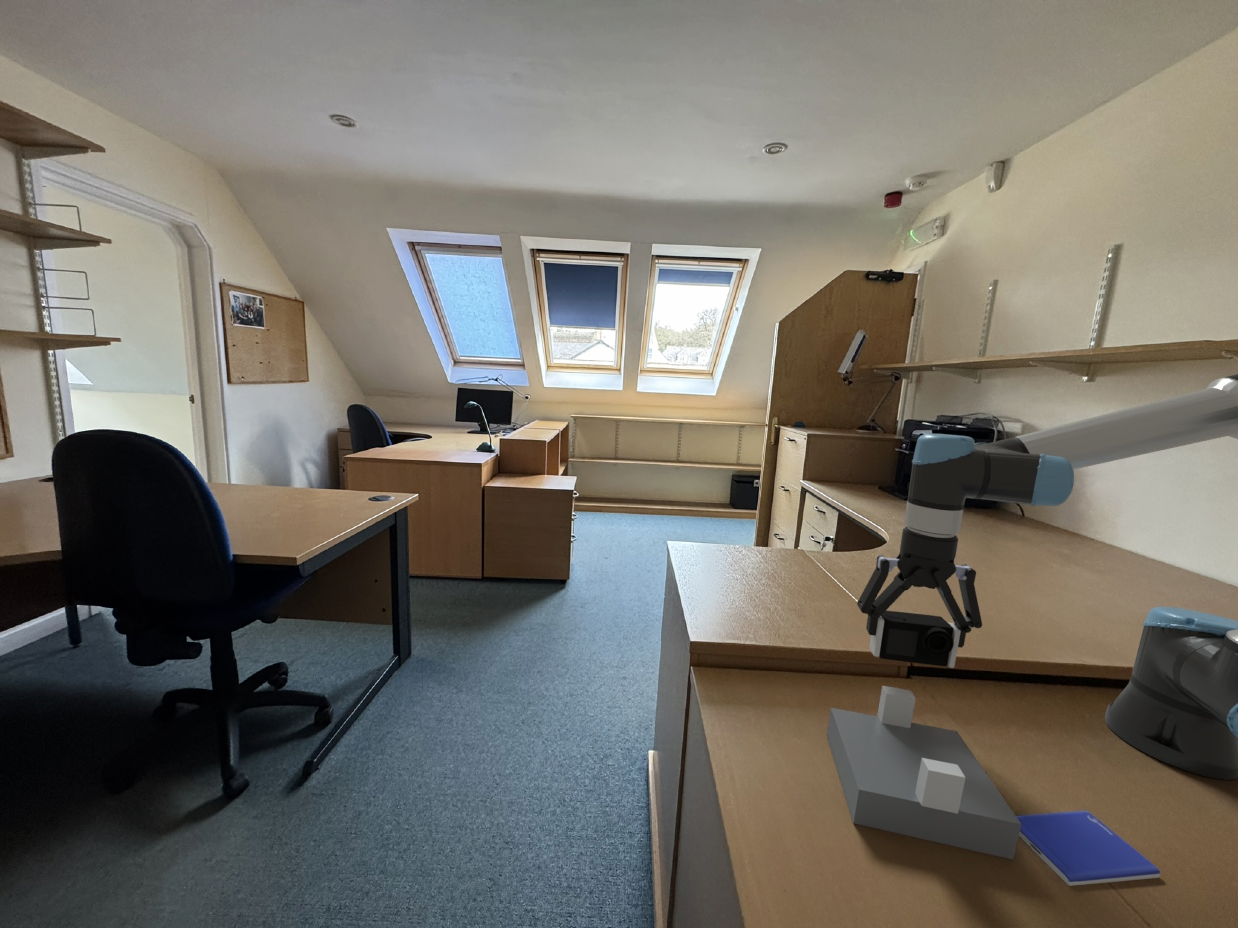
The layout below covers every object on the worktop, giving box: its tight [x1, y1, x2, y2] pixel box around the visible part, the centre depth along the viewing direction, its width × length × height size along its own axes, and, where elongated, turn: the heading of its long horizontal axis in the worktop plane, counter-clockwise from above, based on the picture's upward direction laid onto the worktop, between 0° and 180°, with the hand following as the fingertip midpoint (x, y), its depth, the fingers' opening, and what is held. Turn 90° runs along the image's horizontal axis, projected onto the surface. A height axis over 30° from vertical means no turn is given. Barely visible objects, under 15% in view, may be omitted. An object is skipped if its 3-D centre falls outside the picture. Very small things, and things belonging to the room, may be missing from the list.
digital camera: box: [878, 610, 954, 667], centre depth 79 cm, size 10×5×7 cm, turn 81°
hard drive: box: [1016, 810, 1161, 887], centre depth 59 cm, size 2×8×12 cm
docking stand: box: [826, 685, 1022, 860], centre depth 66 cm, size 18×17×10 cm
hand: (910, 657), depth 79 cm, fingers closed on digital camera, 10 cm apart
